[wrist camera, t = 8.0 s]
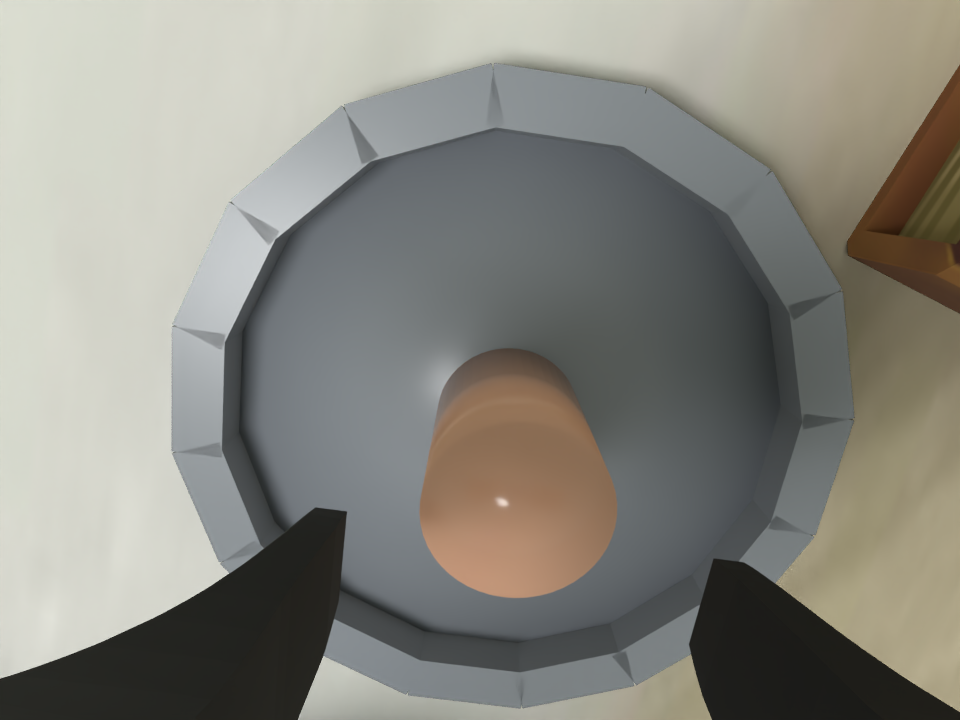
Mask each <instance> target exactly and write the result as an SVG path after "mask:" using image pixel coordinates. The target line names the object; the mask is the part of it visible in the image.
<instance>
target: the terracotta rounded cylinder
mask: <svg viewBox="0 0 960 720" xmlns="http://www.w3.org/2000/svg"><path fill="white" fill-rule="evenodd" d="M419 514H420V525H421V529H422V533H423V536H424V539H425V541H426V544H427V546H428V548H429V550H430V551H431V553H432V555H433V556H434V558H435V559H436V560H437V562H438V563H439V564H440V565H441V566H442V567H443V568H444V569H445V570H446V571H447V572H448V573H449V574H450V575H451V576H453V577H454V578H455V579H457V580H458V581H460V582H461V583H463V584H465V585H466V586H468V587H470V588H473V589H475V590H477V591H480V592H483V593H486V594H489V595H494V596H499V597H508V598H527V597H534V596H540V595H544V594H548V593H551V592H554V591H556V590H559V589H561V588H564V587H566V586H568V585H569V584H571V583H573V582H575V581H576V580H578V579H579V578H580V577H582V576H583V575H584V574H586V573H587V572H588V571H589V570H590V569H591V568H592V567H593V566H594V565H595V564H596V563H597V561H598V560H599V559H600V558H601V556H602V555H603V553H604V552H605V550H606V549H607V547H608V545H609V543H610V540H611V538H612V536H613V532H614V529H615V525H616V519H617V499H616V492H615V488H614V485H613V482H612V479H611V477H610V474H609V472H608V470H607V467H606V465H605V463H604V460H603V458H602V456H601V453H600V451H599V448H598V446H597V444H596V441H595V439H594V437H593V434H592V432H591V430H590V427H589V425H588V423H587V420H586V418H585V416H584V413H583V411H582V409H581V406H580V404H579V401H578V399H577V397H576V394H575V392H574V390H573V388H572V386H571V383H570V382H569V380H568V379H567V377H566V376H565V375H564V373H563V372H562V371H561V370H560V369H559V368H558V367H557V366H556V365H555V364H553V363H552V362H551V361H549V360H548V359H546V358H544V357H542V356H540V355H538V354H536V353H533V352H530V351H526V350H522V349H513V348H504V349H496V350H490V351H487V352H484V353H481V354H479V355H477V356H474V357H472V358H471V359H469V360H468V361H466V362H465V363H463V364H462V365H461V366H460V367H459V368H457V370H456V371H455V372H454V373H453V374H452V375H451V376H450V378H449V379H448V381H447V382H446V384H445V386H444V388H443V390H442V393H441V395H440V398H439V403H438V408H437V414H436V419H435V424H434V430H433V435H432V440H431V446H430V451H429V456H428V462H427V467H426V472H425V478H424V483H423V488H422V493H421V499H420V511H419Z"/></svg>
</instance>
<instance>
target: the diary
mask: <svg viewBox="0 0 960 720" xmlns="http://www.w3.org/2000/svg"><path fill="white" fill-rule="evenodd" d="M847 242H848V256H850V257H852V258H854V259H856V260H858V261H860V262H862V263H864V264H866V265H867V266H869V267H871V268H873V269H875V270H877V271H879V272H881V273H883V274H885V275H887V276H889V277H891V278H892V279H894V280H896V281H898V282H900V283H902V284H904V285H906V286H908V287H910V288H912V289H914V290H916V291H918V292H919V293H921V294H923V295H925V296H927V297H929V298H931V299H933V300H935V301H937V302H939V303H941V304H943V305H944V306H946V307H948V308H950V309H952V310H954V311H956V312H958V313H960V65H959V67H958V68H957V70H956V71H955V73H954V75H953V76H952V78H951V79H950V81H949V82H948V84H947V86H946V87H945V89H944V90H943V92H942V93H941V95H940V97H939V98H938V100H937V101H936V103H935V104H934V106H933V108H932V109H931V111H930V112H929V114H928V115H927V117H926V119H925V120H924V122H923V123H922V125H921V126H920V128H919V130H918V131H917V133H916V134H915V136H914V137H913V139H912V140H911V142H910V144H909V145H908V147H907V148H906V150H905V151H904V153H903V155H902V156H901V158H900V159H899V161H898V162H897V164H896V166H895V167H894V169H893V170H892V172H891V173H890V175H889V177H888V178H887V180H886V181H885V183H884V184H883V186H882V188H881V189H880V191H879V192H878V194H877V195H876V197H875V199H874V200H873V202H872V203H871V205H870V206H869V208H868V210H867V211H866V213H865V214H864V216H863V217H862V219H861V221H860V222H859V224H858V225H857V227H856V228H855V230H854V232H853V233H852V235H851V236H850V238H849V239H848V241H847Z"/></svg>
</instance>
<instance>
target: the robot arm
mask: <svg viewBox="0 0 960 720" xmlns="http://www.w3.org/2000/svg"><path fill="white" fill-rule="evenodd" d="M346 518H347V511H340V510H333V509H325V508H317V507H315V508H314V509H312V510H311V511H310V512H308V513H307V514H306V515H305V516H303V517H302V518H301V519H300V520H299V521H297V522H296V523H295V524H294V525H293V526H291V527H290V528H289V529H288V530H286V531H285V532H284V533H283V534H282V535H280V536H279V537H278V538H277V539H275V540H274V541H273V542H272V543H270V544H269V545H268V546H266V547H265V548H264V549H262V550H261V551H260V552H258V553H257V554H256V555H255V556H253V557H252V558H251V559H249V560H248V561H247V562H245V563H244V564H242V565H241V566H240V567H238V568H237V569H235V570H234V571H232V572H231V573H229V574H228V575H226V576H225V577H223V578H222V579H221V580H219V581H218V582H216V583H215V584H213V585H212V586H210V587H209V588H207V589H205V590H204V591H202V592H200V593H199V594H197V595H195V596H194V597H192V598H190V599H188V600H187V601H185V602H183V603H181V604H179V605H177V606H176V607H174V608H172V609H170V610H168V611H167V612H165V613H163V614H161V615H159V616H157V617H155V618H153V619H151V620H149V621H146V622H144V623H142V624H140V625H138V626H136V627H133V628H131V629H129V630H127V631H125V632H123V633H120V634H118V635H116V636H114V637H112V638H110V639H107V640H105V641H103V642H101V643H98V644H96V645H94V646H91V647H88V648H86V649H83V650H81V651H78V652H76V653H73V654H71V655H68V656H66V657H63V658H60V659H57V660H55V661H52V662H49V663H46V664H43V665H41V666H38V667H35V668H32V669H29V670H26V671H23V672H20V673H17V674H14V675H11V676H8V677H4V678H1V679H0V720H298V717H299V715H300V712H301V710H302V707H303V705H304V703H305V700H306V698H307V695H308V693H309V690H310V688H311V685H312V683H313V680H314V678H315V675H316V673H317V670H318V668H319V665H320V663H321V660H322V658H323V655H324V653H325V650H326V646H327V643H328V639H329V636H330V632H331V629H332V625H333V621H334V617H335V614H336V610H337V606H338V602H339V593H340V583H341V572H342V561H343V550H344V539H345V529H346ZM689 647H690V651H691V655H692V659H693V663H694V667H695V671H696V675H697V678H698V682H699V685H700V689H701V692H702V696H703V698H704V701H705V703H706V706H707V708H708V711H709V713H710V716H711V718H712V720H960V712H959V711H957V710H955V709H954V708H952V707H950V706H949V705H947V704H946V703H944V702H942V701H941V700H939V699H937V698H936V697H934V696H933V695H931V694H929V693H928V692H926V691H924V690H923V689H921V688H919V687H918V686H916V685H915V684H913V683H912V682H910V681H909V680H907V679H906V678H904V677H902V676H901V675H899V674H898V673H896V672H895V671H894V670H892V669H891V668H889V667H888V666H886V665H885V664H883V663H882V662H881V661H879V660H878V659H876V658H875V657H873V656H872V655H870V654H869V653H868V652H866V651H865V650H863V649H862V648H860V647H859V646H858V645H856V644H855V643H854V642H852V641H851V640H849V639H848V638H847V637H845V636H844V635H843V634H841V633H840V632H838V631H837V630H836V629H834V628H833V627H832V626H830V625H829V624H828V623H826V622H825V621H824V620H822V619H821V618H820V617H818V616H817V615H816V614H815V613H813V612H812V611H811V610H809V609H808V608H807V607H805V606H804V605H803V604H801V603H800V602H799V601H798V600H796V599H795V598H794V597H792V596H791V595H790V594H788V593H787V592H786V591H784V590H783V589H782V588H780V587H779V586H778V585H776V584H775V583H774V582H772V581H771V580H770V579H768V578H767V577H766V576H764V575H763V574H761V573H760V572H759V571H757V570H756V569H754V568H753V567H751V566H749V565H748V564H746V563H744V562H739V561H731V560H723V559H715V558H713V562H712V565H711V569H710V572H709V576H708V579H707V583H706V586H705V590H704V593H703V597H702V600H701V604H700V607H699V611H698V614H697V618H696V621H695V624H694V628H693V631H692V635H691V638H690V642H689Z"/></svg>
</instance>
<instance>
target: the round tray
mask: <svg viewBox="0 0 960 720" xmlns="http://www.w3.org/2000/svg"><path fill="white" fill-rule="evenodd" d="M770 170H771V169H769V168H768V167H766V166H765V165H763V164H762V163H760V162H759V161H757V160H756V159H754V158H753V157H751V156H750V155H748V154H747V153H746V152H744V151H743V150H741V149H740V148H738V147H737V146H735V145H734V144H732V143H731V142H729V141H728V140H726V139H725V138H723V137H722V136H720V135H719V134H717V133H716V132H714V131H713V130H711V129H710V128H708V127H707V126H705V125H704V124H702V123H701V122H699V121H698V120H696V119H695V118H693V117H692V116H690V115H689V114H687V113H686V112H684V111H683V110H681V109H680V108H678V107H677V106H675V105H674V104H672V103H671V102H669V101H668V100H666V99H665V98H663V97H662V96H660V95H659V94H658V93H656V92H655V91H653V90H652V89H650V88H647V89H646V87H645V86H639V85H632V84H626V83H619V82H613V81H607V80H600V79H594V78H587V77H581V76H575V75H568V74H562V73H555V72H549V71H542V70H536V69H530V68H523V67H517V66H510V65H504V64H497V63H494V69H493V68H492V64H491V63H490V64H487V65H483V66H480V67H476V68H472V69H469V70H465V71H462V72H458V73H455V74H451V75H447V76H444V77H440V78H437V79H433V80H430V81H426V82H423V83H419V84H415V85H412V86H408V87H405V88H401V89H398V90H394V91H390V92H387V93H383V94H380V95H376V96H373V97H369V98H365V99H362V100H358V101H355V102H351V103H348V104H344V107H342V106H341V107H339V108H338V109H337V110H336V111H335V112H334V113H332V114H331V115H330V116H329V117H328V118H326V119H325V120H324V121H323V122H322V123H321V124H319V125H318V126H317V127H316V128H315V129H313V130H312V131H311V132H310V133H309V134H308V135H306V136H305V137H304V138H303V139H302V140H300V141H299V142H298V143H297V144H296V145H295V146H293V147H292V148H291V149H290V150H289V151H288V152H286V153H285V154H284V155H283V156H282V157H280V158H279V159H278V160H277V161H276V162H275V163H273V164H272V165H271V166H270V167H269V168H267V169H266V170H265V171H264V172H263V173H262V174H260V175H259V176H258V177H257V178H256V179H254V180H253V181H252V182H251V183H250V184H249V185H247V186H246V187H245V188H244V189H243V190H241V191H240V192H239V193H238V194H237V195H236V196H234V197H233V198H232V199H231V201H232V202H229V203H228V205H227V207H226V209H225V211H224V213H223V216H222V218H221V220H220V222H219V224H218V226H217V229H216V231H215V233H214V235H213V237H212V239H211V241H210V244H209V246H208V248H207V250H206V252H205V254H204V257H203V259H202V261H201V263H200V265H199V267H198V270H197V272H196V274H195V276H194V278H193V280H192V283H191V285H190V287H189V289H188V291H187V293H186V296H185V298H184V300H183V302H182V304H181V306H180V309H179V311H178V313H177V315H176V317H175V319H174V322H173V325H174V326H172V451H173V453H172V455H173V457H174V459H175V462H176V464H177V466H178V468H179V471H180V473H181V475H182V478H183V480H184V482H185V485H186V487H187V489H188V492H189V494H190V496H191V499H192V501H193V503H194V505H195V508H196V510H197V512H198V515H199V517H200V519H201V522H202V524H203V526H204V529H205V531H206V533H207V535H208V538H209V540H210V542H211V545H212V547H213V549H214V552H215V554H216V556H217V559H218V561H219V562H221V565H222V566H223V567H224V568H225V569H226V570H227V571H228V572H229V573H231V572H232V571H234V570H235V569H237V568H238V567H240V566H241V565H242V564H244V563H245V562H247V561H248V560H249V559H251V558H252V557H253V556H255V555H256V554H257V553H258V552H260V551H261V550H262V549H264V548H265V547H266V546H268V545H269V544H270V543H272V542H273V541H274V540H275V539H277V538H278V537H279V536H280V535H282V534H283V533H284V532H285V531H286V530H288V529H289V528H290V527H291V526H293V525H294V524H295V523H296V522H297V521H299V520H300V519H301V518H302V517H303V516H305V515H306V514H307V513H308V512H310V511H311V510H312V509H314V508H315V507H317V508H325V509H333V510H340V511H347V518H346V529H345V539H344V550H343V561H342V572H341V583H340V593H339V602H338V606H337V610H336V614H335V617H334V621H333V625H332V629H331V632H330V636H329V639H328V643H327V646H326V650H325V653H324V655H323V656H325V657H327V658H329V659H331V660H333V661H336V662H338V663H340V664H342V665H344V666H346V667H348V668H350V669H353V670H355V671H357V672H359V673H361V674H363V675H365V676H367V677H370V678H372V679H374V680H376V681H378V682H380V683H382V684H384V685H387V686H389V687H391V688H393V689H395V690H397V691H399V692H401V693H403V694H407V692H408V691H409V692H408V695H410V696H419V697H427V698H436V699H444V700H453V701H461V702H470V703H478V704H487V705H495V706H504V707H512V708H521V705H522V708H527V707H532V706H537V705H542V704H547V703H552V702H557V701H562V700H567V699H572V698H577V697H582V696H587V695H592V694H597V693H602V692H607V691H612V690H617V689H622V688H627V687H632V686H634V683H635V684H636V685H638V684H639V683H641V682H643V681H645V680H646V679H648V678H650V677H652V676H653V675H655V674H657V673H659V672H660V671H662V670H664V669H666V668H667V667H669V666H671V665H673V664H674V663H676V662H678V661H680V660H681V659H683V658H685V657H687V656H688V655H690V654H691V651H690V647H689V642H690V638H691V635H692V631H693V628H694V624H695V621H696V618H697V614H698V611H699V607H700V604H701V600H702V597H703V593H704V590H705V586H706V583H707V579H708V576H709V572H710V569H711V565H712V562H713V558H715V559H723V560H731V561H739V562H744V563H746V564H748V565H749V566H751V567H753V568H754V569H756V570H757V571H759V572H760V573H761V574H763V575H764V576H766V577H767V578H768V579H770V580H771V581H772V582H774V583H776V582H777V580H778V579H779V578H780V577H781V576H782V575H783V573H784V572H785V571H786V570H787V569H788V567H789V566H790V565H791V564H792V563H793V562H794V560H795V559H796V558H797V557H798V556H799V555H800V553H801V552H802V551H803V550H804V549H805V548H806V546H807V545H808V544H809V543H810V542H811V540H812V539H813V538H814V536H813V535H816V532H817V529H818V526H819V523H820V520H821V517H822V514H823V511H824V508H825V505H826V502H827V499H828V496H829V494H830V491H831V488H832V485H833V482H834V479H835V476H836V473H837V470H838V467H839V464H840V461H841V458H842V455H843V452H844V449H845V446H846V443H847V440H848V437H849V434H850V431H851V428H852V425H853V423H854V420H853V418H854V407H853V396H852V385H851V375H850V364H849V353H848V342H847V331H846V320H845V309H844V298H843V291H840V290H841V289H842V288H841V286H840V284H839V283H838V281H837V279H836V278H835V276H834V274H833V273H832V271H831V269H830V268H829V266H828V264H827V263H826V261H825V259H824V257H823V256H822V254H821V252H820V251H819V249H818V247H817V246H816V244H815V242H814V241H813V239H812V237H811V235H810V234H809V232H808V230H807V229H806V227H805V225H804V224H803V222H802V220H801V219H800V217H799V215H798V213H797V212H796V210H795V208H794V207H793V205H792V203H791V202H790V200H789V198H788V197H787V195H786V193H785V191H784V190H783V188H782V186H781V185H780V183H779V181H778V180H777V178H776V176H775V175H774V173H773V171H770ZM504 348H513V349H522V350H526V351H530V352H533V353H536V354H538V355H540V356H542V357H544V358H546V359H548V360H549V361H551V362H552V363H553V364H555V365H556V366H557V367H558V368H559V369H560V370H561V371H562V372H563V373H564V375H565V376H566V377H567V379H568V380H569V382H570V383H571V386H572V388H573V390H574V392H575V394H576V397H577V399H578V401H579V404H580V406H581V409H582V411H583V413H584V416H585V418H586V420H587V423H588V425H589V427H590V430H591V432H592V434H593V437H594V439H595V441H596V444H597V446H598V448H599V451H600V453H601V456H602V458H603V460H604V463H605V465H606V467H607V470H608V472H609V474H610V477H611V479H612V482H613V485H614V488H615V492H616V499H617V519H616V525H615V529H614V532H613V536H612V538H611V540H610V543H609V545H608V547H607V549H606V550H605V552H604V553H603V555H602V556H601V558H600V559H599V560H598V561H597V563H596V564H595V565H594V566H593V567H592V568H591V569H590V570H589V571H588V572H587V573H586V574H584V575H583V576H582V577H580V578H579V579H578V580H576V581H575V582H573V583H571V584H569V585H568V586H566V587H564V588H561V589H559V590H556V591H554V592H551V593H548V594H544V595H540V596H534V597H527V598H508V597H499V596H494V595H489V594H486V593H483V592H480V591H477V590H475V589H473V588H470V587H468V586H466V585H465V584H463V583H461V582H460V581H458V580H457V579H455V578H454V577H453V576H451V575H450V574H449V573H448V572H447V571H446V570H445V569H444V568H443V567H442V566H441V565H440V564H439V563H438V562H437V560H436V559H435V558H434V556H433V555H432V553H431V551H430V550H429V548H428V546H427V544H426V541H425V539H424V536H423V533H422V529H421V525H420V514H419V511H420V499H421V493H422V488H423V483H424V478H425V472H426V467H427V462H428V456H429V451H430V446H431V440H432V435H433V430H434V424H435V419H436V414H437V408H438V403H439V398H440V395H441V393H442V390H443V388H444V386H445V384H446V382H447V381H448V379H449V378H450V376H451V375H452V374H453V373H454V372H455V371H456V370H457V368H459V367H460V366H461V365H462V364H463V363H465V362H466V361H468V360H469V359H471V358H472V357H474V356H477V355H479V354H481V353H484V352H487V351H490V350H496V349H504ZM633 682H634V683H633Z"/></svg>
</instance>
